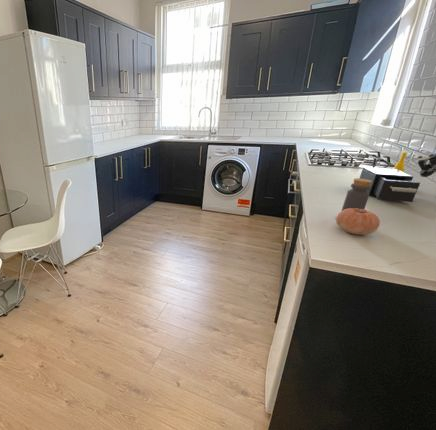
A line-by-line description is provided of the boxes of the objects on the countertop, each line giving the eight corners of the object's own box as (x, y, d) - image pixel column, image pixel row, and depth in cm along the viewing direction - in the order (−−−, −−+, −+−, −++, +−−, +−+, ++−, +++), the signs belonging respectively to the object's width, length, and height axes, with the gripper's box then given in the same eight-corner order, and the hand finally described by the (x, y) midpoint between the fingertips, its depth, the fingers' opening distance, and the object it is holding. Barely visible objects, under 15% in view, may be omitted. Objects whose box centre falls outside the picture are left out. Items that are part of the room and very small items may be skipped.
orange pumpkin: (383, 240, 86) (393, 216, 83) (344, 238, 88) (352, 214, 85) (361, 226, 96) (369, 204, 93) (326, 224, 97) (333, 202, 94)
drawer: (417, 205, 112) (426, 185, 108) (382, 202, 116) (389, 182, 112) (396, 192, 127) (403, 175, 124) (365, 190, 131) (371, 172, 128)
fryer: (404, 199, 122) (413, 176, 118) (368, 195, 126) (376, 173, 122) (388, 189, 134) (396, 169, 130) (356, 187, 138) (363, 167, 135)
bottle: (335, 216, 103) (348, 177, 98) (353, 218, 102) (367, 178, 97) (344, 223, 98) (358, 181, 93) (363, 224, 97) (378, 182, 91)
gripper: (435, 154, 88) (401, 181, 104) (494, 156, 84) (449, 185, 99) (432, 135, 91) (399, 164, 106) (489, 136, 86) (446, 167, 102)
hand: (423, 174), depth 103 cm, fingers closed
